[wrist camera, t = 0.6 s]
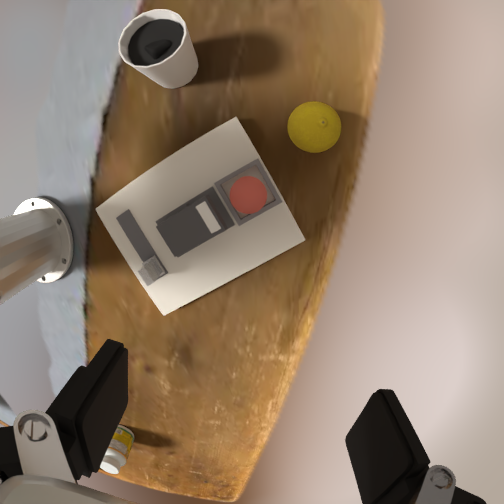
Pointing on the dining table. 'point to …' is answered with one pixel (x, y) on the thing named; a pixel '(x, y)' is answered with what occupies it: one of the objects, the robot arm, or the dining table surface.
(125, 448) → the supplement bottle
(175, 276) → the switch panel
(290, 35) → the dining table surface
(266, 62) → the dining table surface
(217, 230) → the rocker switch
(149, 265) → the slide paddle
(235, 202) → the push button
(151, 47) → the white cup
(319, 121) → the lemon
